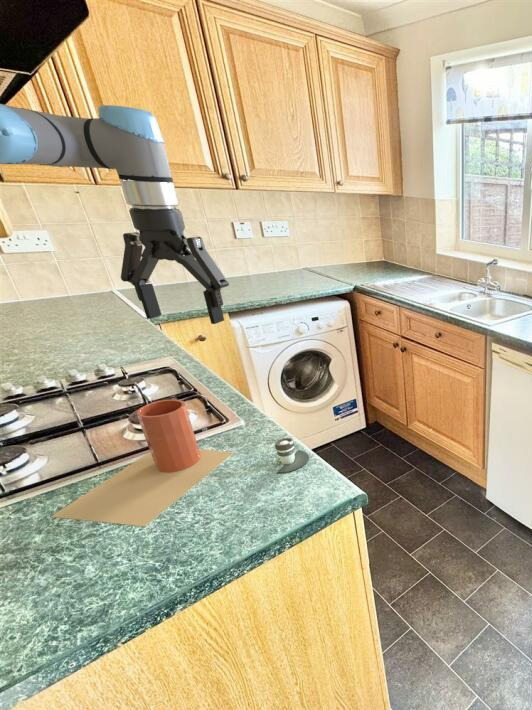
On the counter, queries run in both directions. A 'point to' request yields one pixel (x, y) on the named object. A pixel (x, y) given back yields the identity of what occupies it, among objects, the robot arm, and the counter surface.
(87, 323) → the counter surface
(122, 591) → the counter surface
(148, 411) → the tumbler
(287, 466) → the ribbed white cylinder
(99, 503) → the mat
